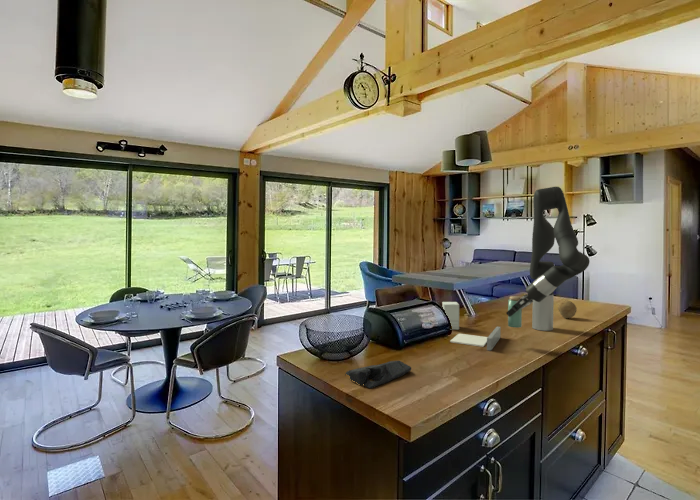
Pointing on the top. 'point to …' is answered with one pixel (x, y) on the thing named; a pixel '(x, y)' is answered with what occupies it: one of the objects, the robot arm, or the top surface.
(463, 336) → the rubber mat
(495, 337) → the low wall
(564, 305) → the natural sponge
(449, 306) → the supplement box
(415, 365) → the top surface
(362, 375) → the dark slate chunk
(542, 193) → the robot arm
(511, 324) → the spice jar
